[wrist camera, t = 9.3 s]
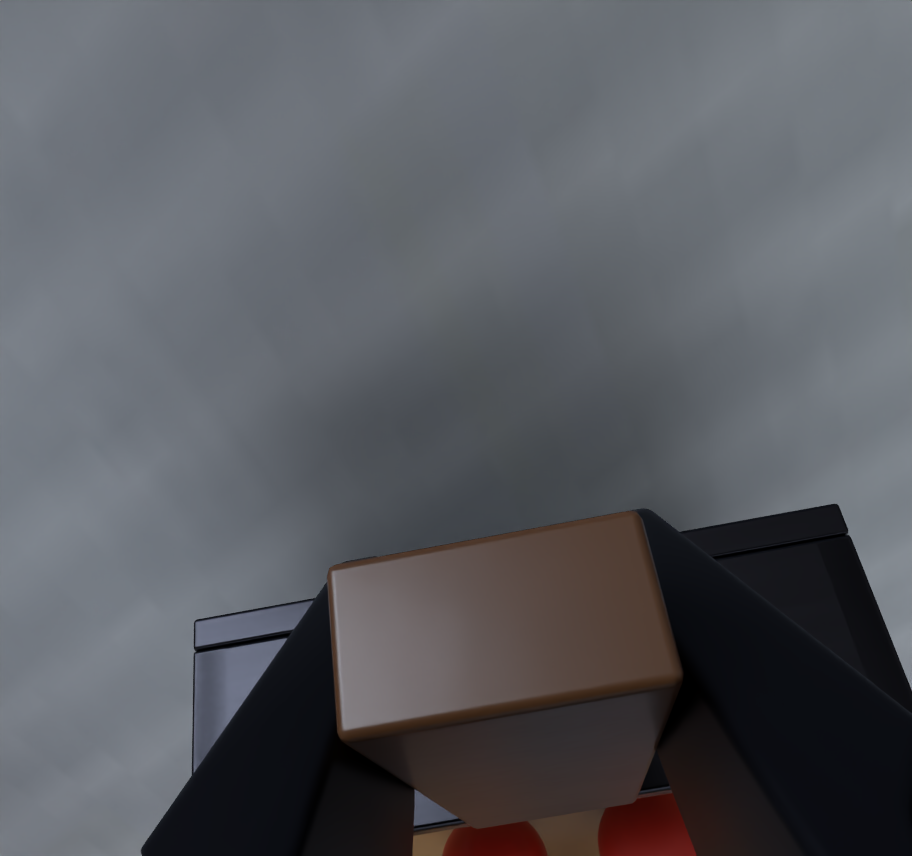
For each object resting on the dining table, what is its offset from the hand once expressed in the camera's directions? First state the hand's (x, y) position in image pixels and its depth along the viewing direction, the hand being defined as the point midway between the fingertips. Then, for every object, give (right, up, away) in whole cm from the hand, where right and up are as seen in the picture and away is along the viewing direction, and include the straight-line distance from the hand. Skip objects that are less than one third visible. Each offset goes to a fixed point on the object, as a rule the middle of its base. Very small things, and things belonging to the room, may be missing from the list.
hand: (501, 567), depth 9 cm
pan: (+1, -2, +6) cm, 7 cm away
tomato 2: (+5, -10, +15) cm, 19 cm away
